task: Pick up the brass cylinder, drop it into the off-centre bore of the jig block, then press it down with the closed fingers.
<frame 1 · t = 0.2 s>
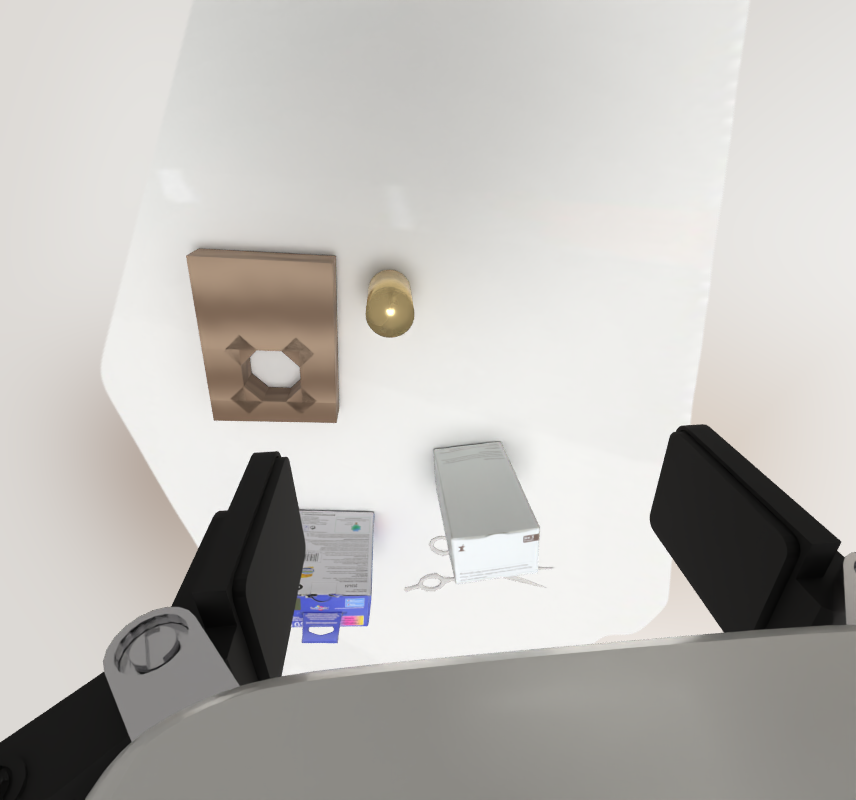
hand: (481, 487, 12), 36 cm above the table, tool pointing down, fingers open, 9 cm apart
scissors: (483, 566, 66), on the table
skincare box: (469, 461, 56), on the table
brass cylinder: (389, 290, 45), on the table
jig: (275, 335, 47), on the table
ink cartridge box: (333, 525, 59), on the table
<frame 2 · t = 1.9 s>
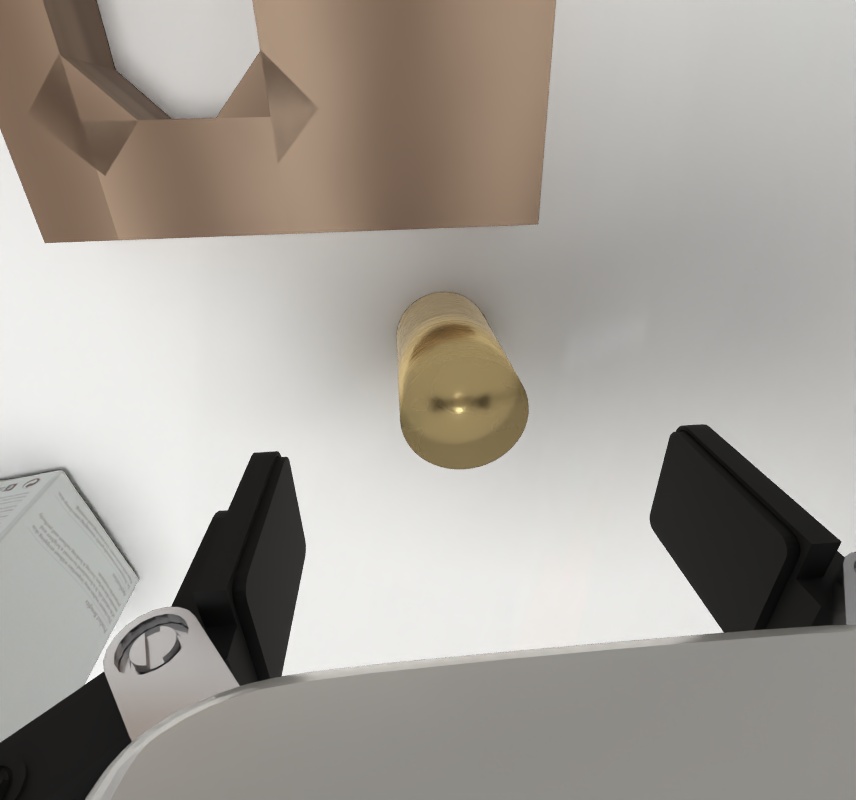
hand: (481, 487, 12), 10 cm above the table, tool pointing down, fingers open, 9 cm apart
skincare box: (61, 536, 25), on the table
brass cylinder: (442, 337, 21), on the table
jig: (285, 24, 15), on the table
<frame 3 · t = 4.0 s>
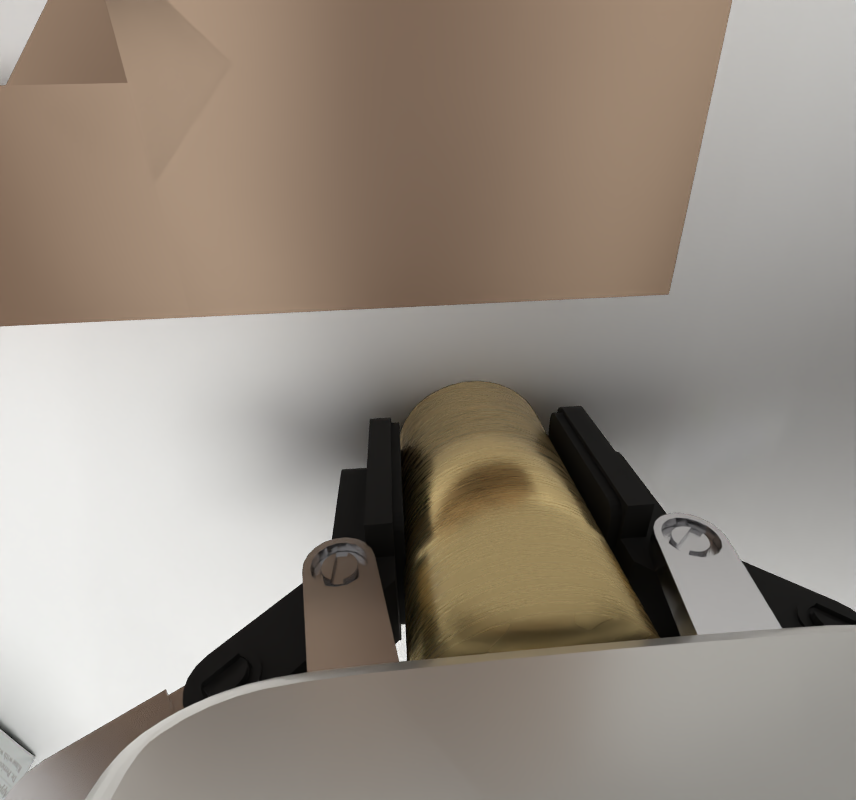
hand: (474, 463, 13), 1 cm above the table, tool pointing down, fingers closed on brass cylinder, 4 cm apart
brass cylinder: (470, 445, 13), on the table, touching gripper
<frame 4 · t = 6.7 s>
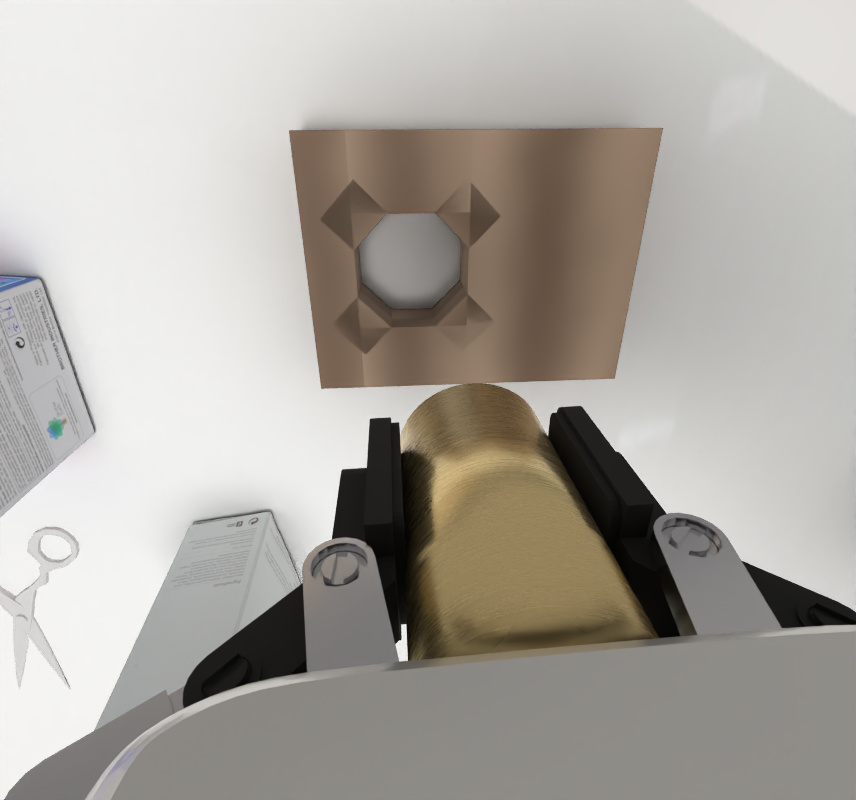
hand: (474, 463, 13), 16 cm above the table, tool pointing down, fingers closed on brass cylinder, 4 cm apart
scissors: (24, 602, 36), on the table
skincare box: (253, 555, 35), on the table
brass cylinder: (470, 447, 13), point 15 cm above the table, touching gripper
jig: (466, 259, 26), on the table
ink cartridge box: (23, 357, 27), on the table
when the fingers open (5 cm above the table, at t = 9.5 s): brass cylinder drops 4 cm, resting in jig.
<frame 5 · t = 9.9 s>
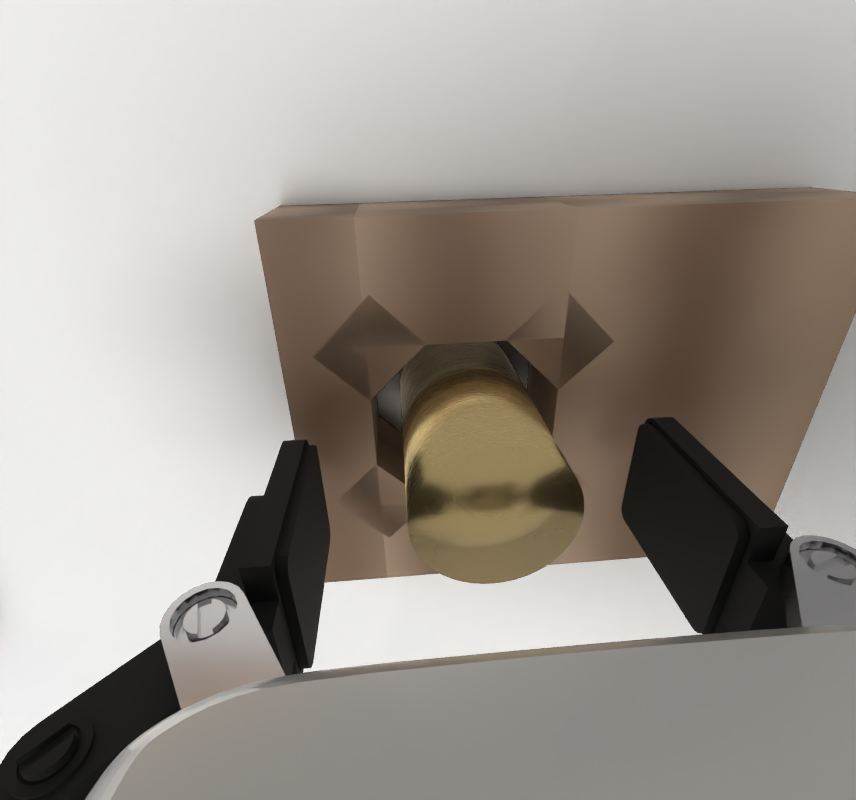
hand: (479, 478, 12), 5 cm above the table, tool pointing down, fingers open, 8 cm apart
brass cylinder: (456, 384, 17), resting in jig
jig: (536, 378, 17), on the table
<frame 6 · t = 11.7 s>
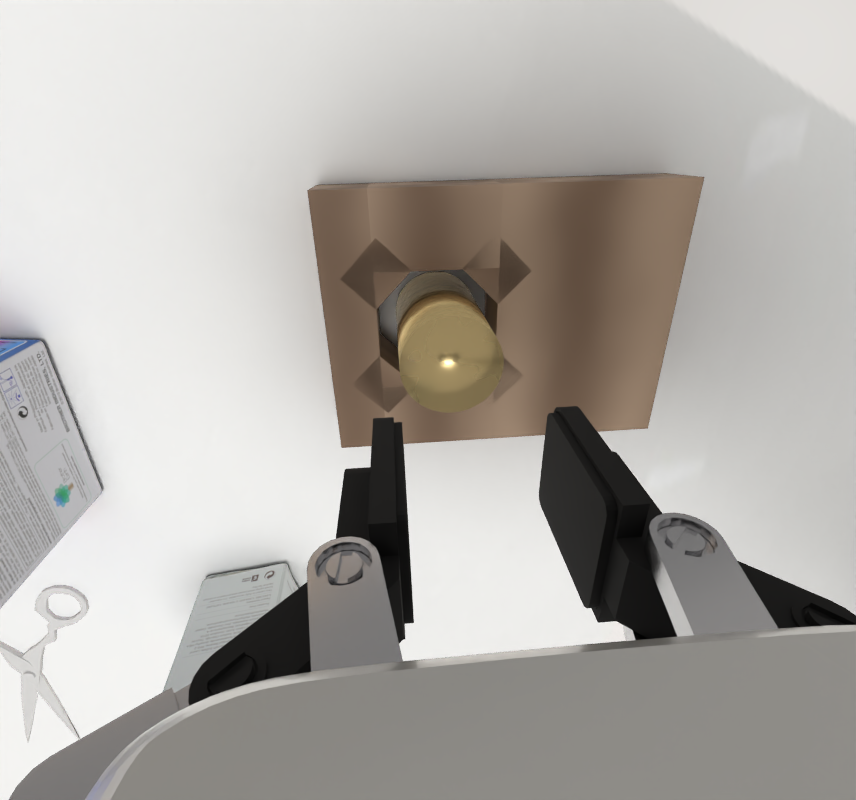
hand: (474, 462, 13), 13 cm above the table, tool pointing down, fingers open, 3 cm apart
scissors: (32, 657, 35), on the table
skincare box: (269, 605, 34), on the table
brass cylinder: (435, 311, 24), resting in jig
jig: (490, 307, 24), on the table
ink cartridge box: (26, 418, 26), on the table
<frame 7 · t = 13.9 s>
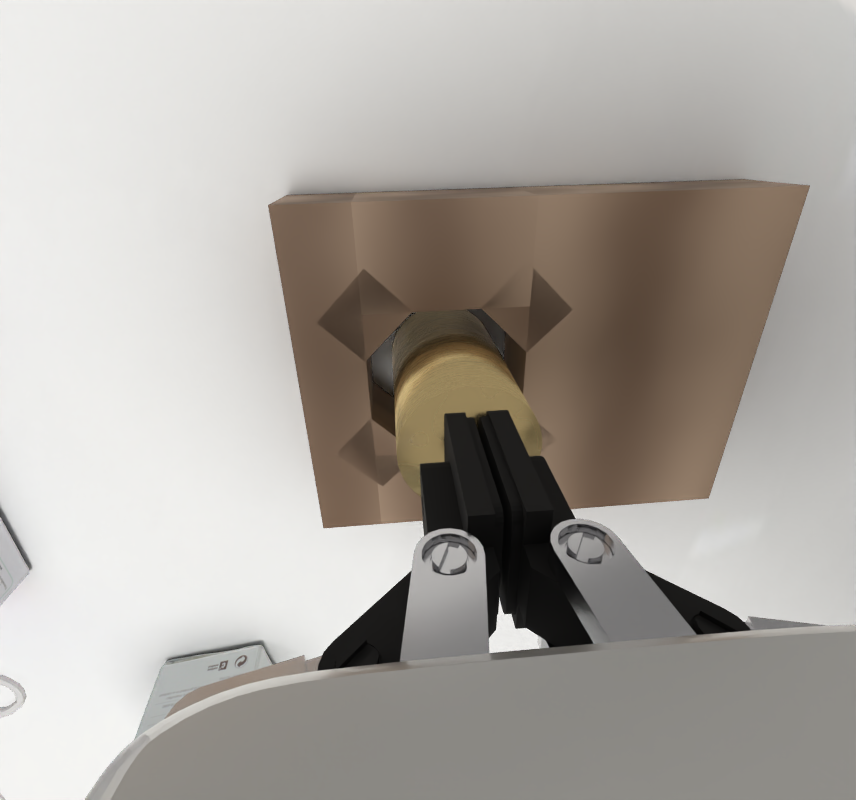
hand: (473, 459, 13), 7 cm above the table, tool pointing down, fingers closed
skincare box: (243, 687, 29), on the table
brass cylinder: (441, 353, 19), resting in jig
jig: (512, 348, 19), on the table
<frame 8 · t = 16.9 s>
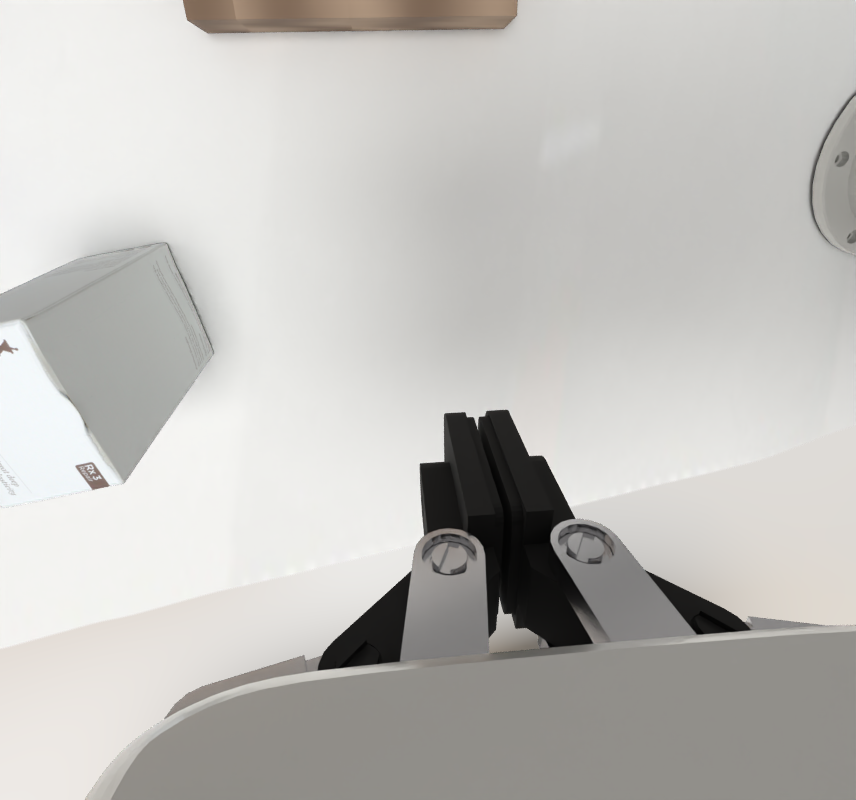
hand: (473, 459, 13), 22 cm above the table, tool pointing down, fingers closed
skincare box: (157, 310, 32), on the table
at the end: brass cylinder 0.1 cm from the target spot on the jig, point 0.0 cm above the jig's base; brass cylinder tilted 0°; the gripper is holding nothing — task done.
